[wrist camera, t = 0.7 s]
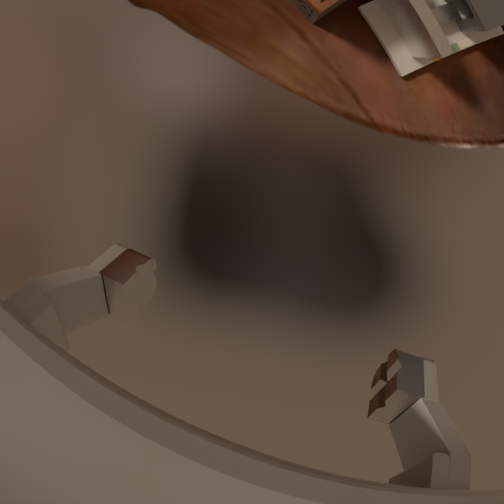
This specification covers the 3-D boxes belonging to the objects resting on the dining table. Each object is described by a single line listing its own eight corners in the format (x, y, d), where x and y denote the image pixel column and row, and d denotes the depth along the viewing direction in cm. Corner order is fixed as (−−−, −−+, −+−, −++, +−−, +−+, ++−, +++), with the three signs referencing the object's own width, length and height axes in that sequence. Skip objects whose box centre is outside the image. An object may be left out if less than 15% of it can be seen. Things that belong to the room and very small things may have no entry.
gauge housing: (436, -12, 26) (458, -20, 20) (475, -22, 22) (498, -28, 16) (461, 32, 29) (486, 31, 23) (497, 19, 25) (523, 18, 20)
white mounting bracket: (379, 5, 30) (403, -9, 22) (434, -15, 26) (465, -27, 17) (417, 68, 34) (448, 71, 26) (468, 46, 30) (504, 47, 22)
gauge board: (357, 8, 32) (359, 6, 30) (466, -29, 23) (470, -30, 21) (399, 76, 37) (402, 76, 35) (500, 33, 28) (504, 33, 26)
